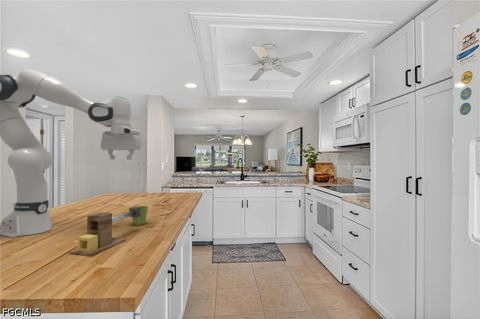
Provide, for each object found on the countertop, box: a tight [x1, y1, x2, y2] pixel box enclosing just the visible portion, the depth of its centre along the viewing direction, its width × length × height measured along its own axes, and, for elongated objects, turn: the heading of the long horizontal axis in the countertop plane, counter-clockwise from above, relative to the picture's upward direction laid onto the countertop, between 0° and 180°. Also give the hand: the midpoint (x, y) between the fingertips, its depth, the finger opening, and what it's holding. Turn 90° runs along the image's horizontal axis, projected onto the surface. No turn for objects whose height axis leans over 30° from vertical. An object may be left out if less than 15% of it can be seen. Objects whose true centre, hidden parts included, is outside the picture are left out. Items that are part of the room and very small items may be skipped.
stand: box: [68, 211, 127, 257], centre depth 98 cm, size 10×18×13 cm, turn 168°
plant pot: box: [130, 205, 149, 226], centre depth 133 cm, size 9×9×9 cm
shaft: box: [96, 206, 140, 226], centre depth 109 cm, size 24×4×4 cm, turn 168°
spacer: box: [77, 233, 98, 252], centre depth 93 cm, size 4×5×5 cm
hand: (120, 159), depth 121 cm, fingers open, 8 cm apart
